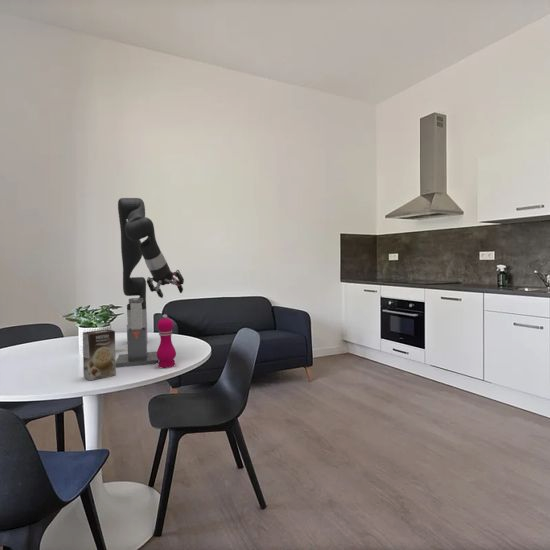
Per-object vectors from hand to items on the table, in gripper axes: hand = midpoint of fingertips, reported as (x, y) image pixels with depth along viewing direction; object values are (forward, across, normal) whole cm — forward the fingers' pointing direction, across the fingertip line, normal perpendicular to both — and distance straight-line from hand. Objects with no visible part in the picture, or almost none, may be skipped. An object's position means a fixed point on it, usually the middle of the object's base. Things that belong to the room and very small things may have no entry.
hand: (171, 294), depth 168 cm
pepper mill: (+12, +4, +29) cm, 32 cm away
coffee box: (+2, +23, +37) cm, 44 cm away
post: (+13, +17, +18) cm, 29 cm away
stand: (+15, +18, +20) cm, 30 cm away
